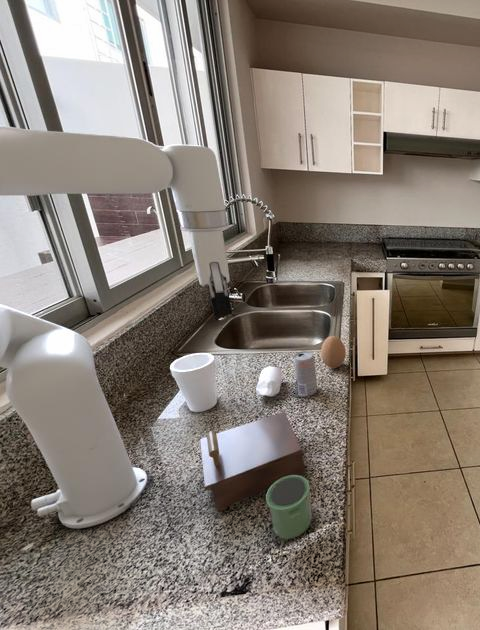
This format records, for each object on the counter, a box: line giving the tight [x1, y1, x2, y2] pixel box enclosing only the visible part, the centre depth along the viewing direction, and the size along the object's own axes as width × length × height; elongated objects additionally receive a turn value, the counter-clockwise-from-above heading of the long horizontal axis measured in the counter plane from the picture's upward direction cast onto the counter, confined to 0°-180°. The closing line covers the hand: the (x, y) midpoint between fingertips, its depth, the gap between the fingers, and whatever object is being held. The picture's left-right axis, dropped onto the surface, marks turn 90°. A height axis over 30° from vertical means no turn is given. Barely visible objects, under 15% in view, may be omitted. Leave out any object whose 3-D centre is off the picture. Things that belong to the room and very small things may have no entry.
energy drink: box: [292, 350, 318, 397], centre depth 95 cm, size 5×5×12 cm
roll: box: [255, 366, 283, 397], centre depth 95 cm, size 6×12×6 cm, turn 16°
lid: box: [199, 411, 303, 491], centre depth 68 cm, size 17×14×5 cm
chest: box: [210, 452, 306, 512], centre depth 70 cm, size 16×14×6 cm
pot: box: [265, 475, 313, 540], centre depth 59 cm, size 7×9×8 cm
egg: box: [320, 335, 347, 369], centre depth 109 cm, size 8×8×11 cm
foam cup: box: [169, 352, 218, 413], centre depth 89 cm, size 10×9×13 cm
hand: (223, 313), depth 69 cm, fingers closed
